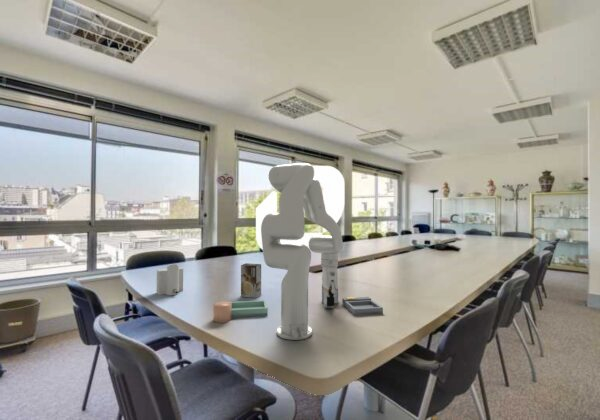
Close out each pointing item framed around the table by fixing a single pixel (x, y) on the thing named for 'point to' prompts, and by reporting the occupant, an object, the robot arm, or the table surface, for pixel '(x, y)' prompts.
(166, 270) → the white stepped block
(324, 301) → the cell
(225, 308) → the peach rounded dome
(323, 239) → the robot arm
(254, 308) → the green trapezoid tray
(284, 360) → the table surface
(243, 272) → the coffee box
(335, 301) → the medicine box
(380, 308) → the cradle
